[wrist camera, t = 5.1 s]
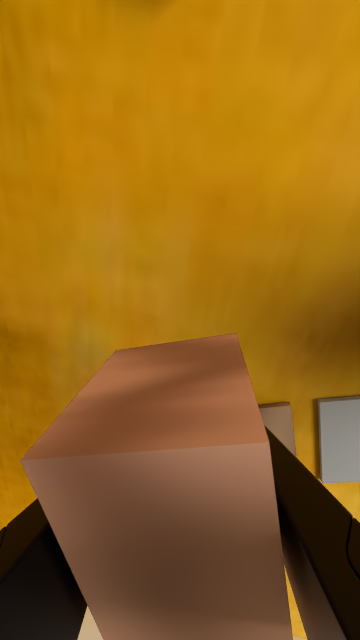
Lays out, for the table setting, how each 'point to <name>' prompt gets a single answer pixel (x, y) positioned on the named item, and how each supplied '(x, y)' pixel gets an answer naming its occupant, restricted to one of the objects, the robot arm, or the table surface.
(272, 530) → the terracotta brick
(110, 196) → the table surface
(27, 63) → the table surface
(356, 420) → the slate coaster
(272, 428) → the walnut coaster
